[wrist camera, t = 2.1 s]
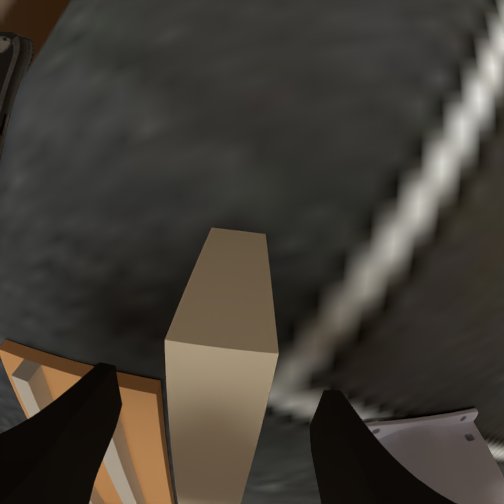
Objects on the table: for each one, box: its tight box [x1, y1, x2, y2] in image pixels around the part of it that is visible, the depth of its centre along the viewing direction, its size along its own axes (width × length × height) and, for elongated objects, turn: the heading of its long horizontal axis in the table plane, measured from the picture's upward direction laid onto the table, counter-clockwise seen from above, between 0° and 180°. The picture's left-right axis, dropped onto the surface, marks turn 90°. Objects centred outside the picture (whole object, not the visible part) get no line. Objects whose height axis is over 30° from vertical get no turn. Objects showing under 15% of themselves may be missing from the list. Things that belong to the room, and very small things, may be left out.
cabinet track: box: [0, 339, 175, 504], centre depth 14 cm, size 10×20×7 cm, turn 173°
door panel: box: [165, 228, 279, 504], centre depth 10 cm, size 2×10×7 cm, turn 173°
